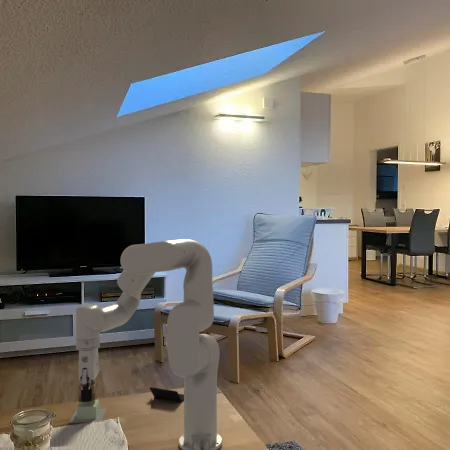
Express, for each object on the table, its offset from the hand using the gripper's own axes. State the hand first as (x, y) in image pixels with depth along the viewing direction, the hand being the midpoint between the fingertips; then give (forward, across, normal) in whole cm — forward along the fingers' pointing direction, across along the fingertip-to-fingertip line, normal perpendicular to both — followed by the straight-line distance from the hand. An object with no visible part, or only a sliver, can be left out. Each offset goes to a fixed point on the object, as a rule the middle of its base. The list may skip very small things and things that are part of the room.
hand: (88, 397), depth 153 cm
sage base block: (+6, 0, 0) cm, 6 cm away
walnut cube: (+1, 0, 0) cm, 1 cm away
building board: (+7, 0, 0) cm, 7 cm away
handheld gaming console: (+7, +13, -26) cm, 30 cm away
